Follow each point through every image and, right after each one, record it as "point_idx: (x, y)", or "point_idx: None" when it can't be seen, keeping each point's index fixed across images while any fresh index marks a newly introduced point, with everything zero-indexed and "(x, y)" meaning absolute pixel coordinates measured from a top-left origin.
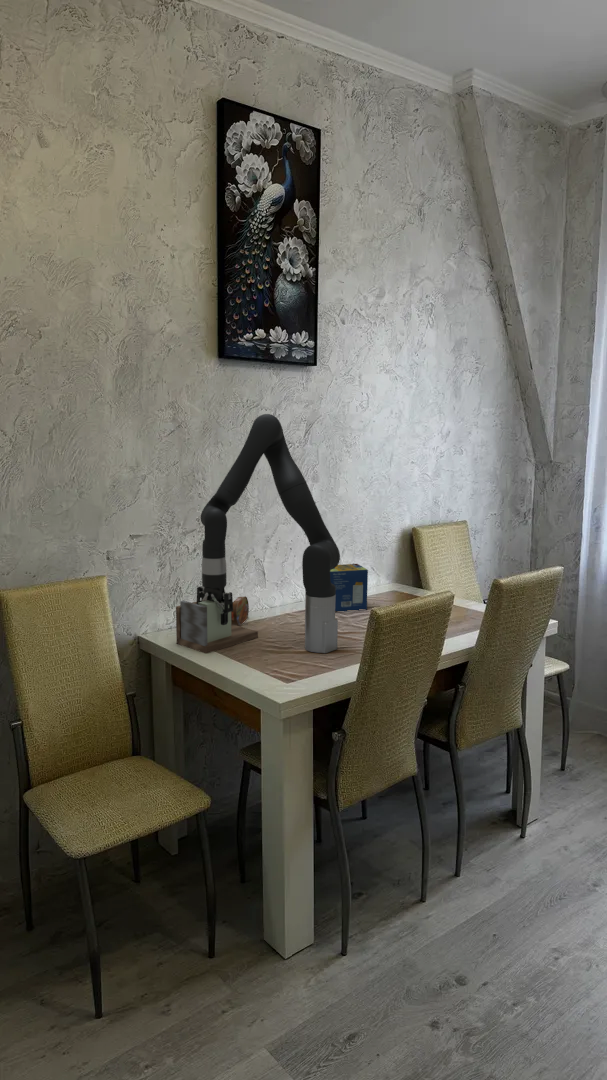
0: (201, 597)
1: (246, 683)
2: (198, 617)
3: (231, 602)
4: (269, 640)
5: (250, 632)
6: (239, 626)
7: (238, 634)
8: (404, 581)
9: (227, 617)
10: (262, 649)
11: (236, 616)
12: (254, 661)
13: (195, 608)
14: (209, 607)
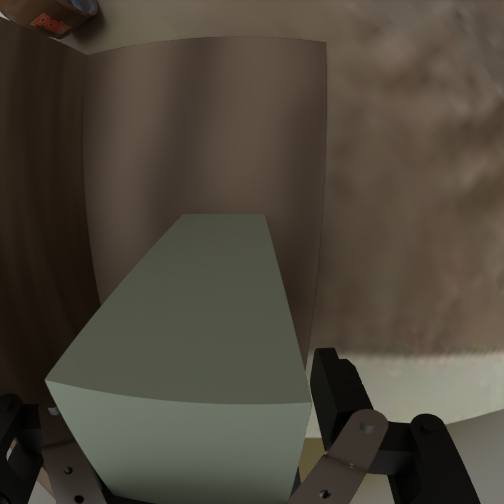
0: (18, 476)
1: (496, 405)
2: None
3: (461, 488)
4: (395, 61)
5: (307, 83)
6: (155, 44)
7: (281, 165)
8: None
9: (362, 391)
10: (452, 196)
11: (75, 9)
12: (480, 317)
13: None
14: None
